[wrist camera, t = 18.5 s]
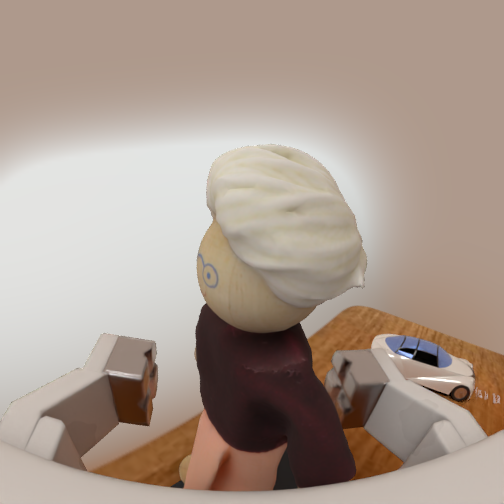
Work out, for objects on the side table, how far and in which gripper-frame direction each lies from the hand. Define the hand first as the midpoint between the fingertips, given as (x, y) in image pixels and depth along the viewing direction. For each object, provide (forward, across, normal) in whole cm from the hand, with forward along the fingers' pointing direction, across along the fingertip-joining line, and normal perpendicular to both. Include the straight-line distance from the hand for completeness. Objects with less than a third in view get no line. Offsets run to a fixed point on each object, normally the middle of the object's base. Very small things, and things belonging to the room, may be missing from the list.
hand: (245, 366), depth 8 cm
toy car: (+6, -15, +8) cm, 18 cm away
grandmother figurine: (-1, 0, +7) cm, 7 cm away
